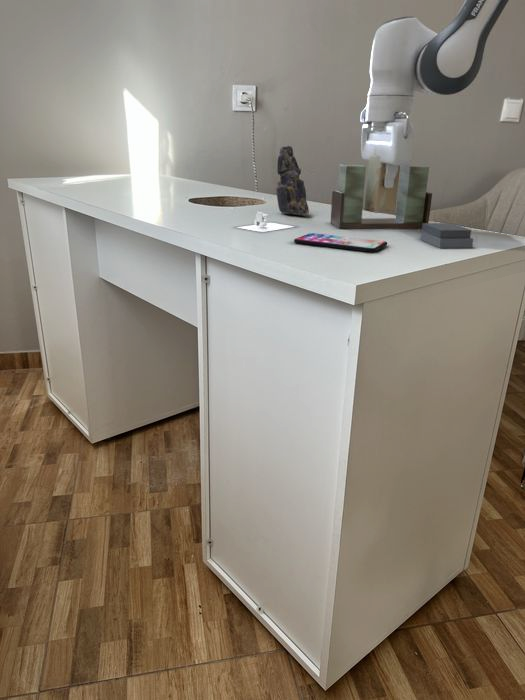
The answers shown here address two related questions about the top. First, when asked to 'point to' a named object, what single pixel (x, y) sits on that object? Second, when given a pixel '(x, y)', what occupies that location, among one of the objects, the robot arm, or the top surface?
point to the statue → (290, 185)
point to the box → (380, 188)
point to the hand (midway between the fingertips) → (382, 186)
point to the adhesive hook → (264, 224)
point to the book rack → (409, 204)
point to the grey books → (446, 235)
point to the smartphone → (341, 242)
